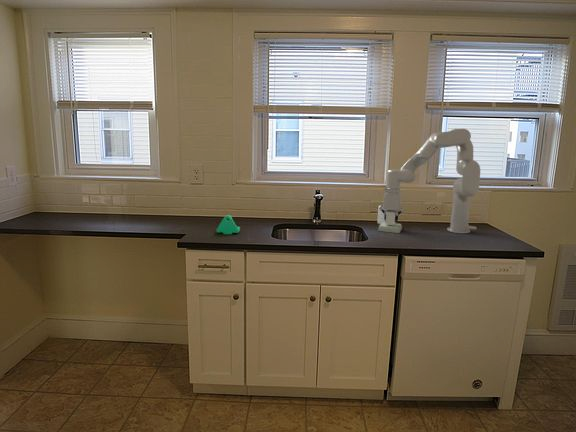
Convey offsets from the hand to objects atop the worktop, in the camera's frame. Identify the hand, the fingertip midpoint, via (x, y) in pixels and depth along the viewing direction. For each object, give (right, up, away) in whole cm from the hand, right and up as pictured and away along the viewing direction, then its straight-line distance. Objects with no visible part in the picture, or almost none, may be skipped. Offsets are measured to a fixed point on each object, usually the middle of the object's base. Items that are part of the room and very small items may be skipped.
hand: (390, 221), depth 241 cm
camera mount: (-94, -7, -12) cm, 95 cm away
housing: (0, -1, 0) cm, 2 cm away
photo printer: (0, -3, +16) cm, 16 cm away
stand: (0, -5, +1) cm, 5 cm away
